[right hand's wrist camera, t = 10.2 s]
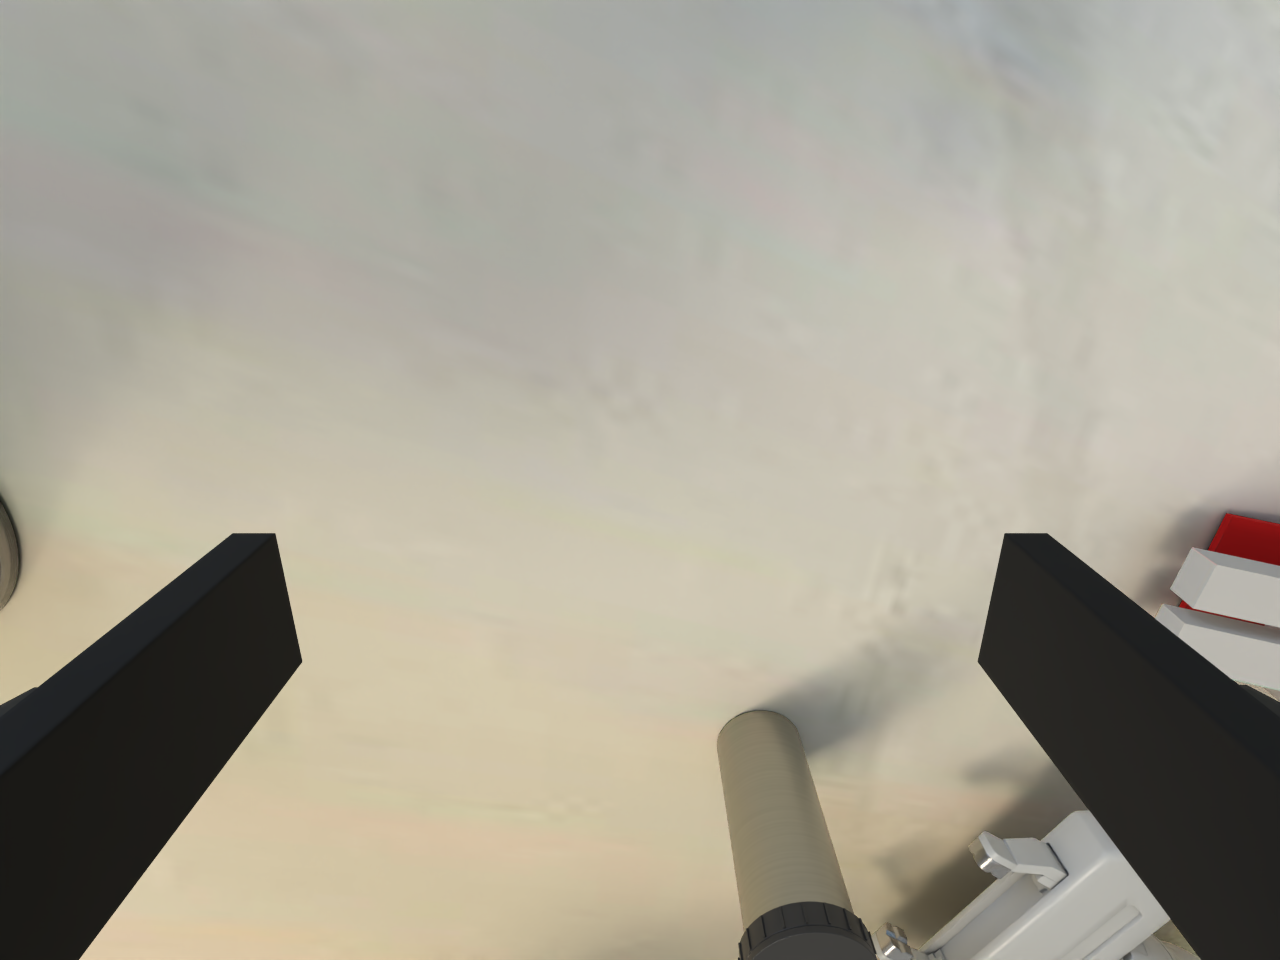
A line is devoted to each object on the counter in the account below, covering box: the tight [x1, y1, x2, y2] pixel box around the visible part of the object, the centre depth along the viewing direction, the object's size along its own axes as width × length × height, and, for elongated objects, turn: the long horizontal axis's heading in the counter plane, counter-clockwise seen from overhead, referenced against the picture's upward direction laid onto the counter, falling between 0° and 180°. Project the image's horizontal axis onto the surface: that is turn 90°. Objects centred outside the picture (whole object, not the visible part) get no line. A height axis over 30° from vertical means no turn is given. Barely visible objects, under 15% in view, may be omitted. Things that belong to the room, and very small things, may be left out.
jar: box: [717, 711, 854, 932], centre depth 40 cm, size 6×6×15 cm
